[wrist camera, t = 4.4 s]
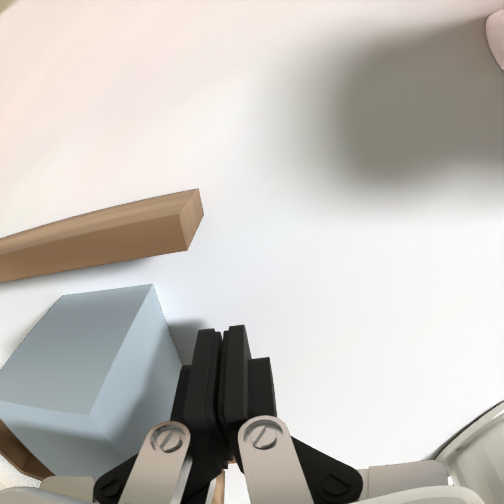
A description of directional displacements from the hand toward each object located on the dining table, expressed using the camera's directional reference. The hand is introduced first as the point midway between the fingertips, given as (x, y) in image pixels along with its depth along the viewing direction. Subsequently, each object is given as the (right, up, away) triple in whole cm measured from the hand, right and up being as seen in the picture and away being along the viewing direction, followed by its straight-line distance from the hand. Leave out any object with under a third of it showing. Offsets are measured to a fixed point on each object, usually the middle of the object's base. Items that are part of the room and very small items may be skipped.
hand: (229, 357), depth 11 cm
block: (-5, 0, +2) cm, 6 cm away
